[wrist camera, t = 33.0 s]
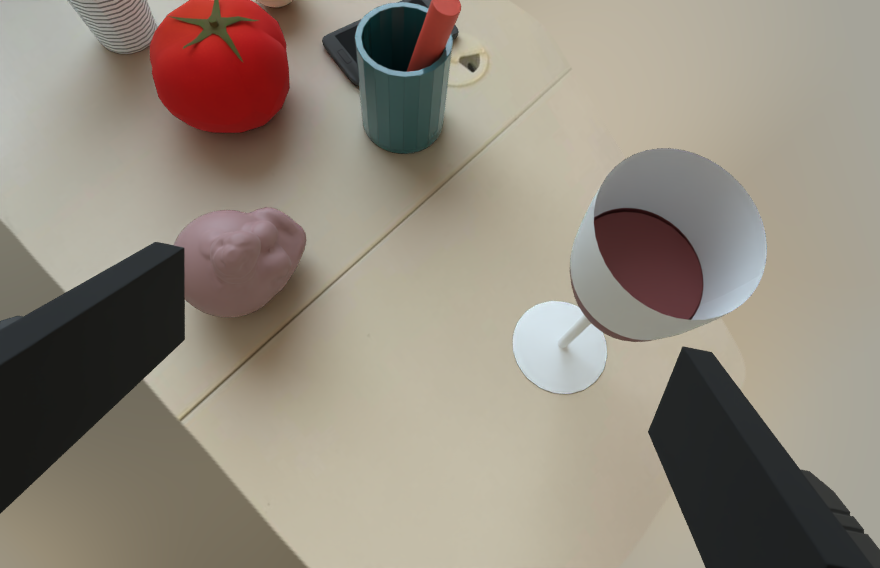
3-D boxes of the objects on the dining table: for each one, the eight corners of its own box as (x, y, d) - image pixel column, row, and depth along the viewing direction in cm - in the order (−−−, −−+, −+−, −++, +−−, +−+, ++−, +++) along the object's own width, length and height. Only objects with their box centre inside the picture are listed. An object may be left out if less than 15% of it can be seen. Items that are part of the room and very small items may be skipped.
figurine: (333, 279, 51) (314, 216, 40) (224, 350, 48) (171, 303, 37) (281, 210, 53) (250, 132, 42) (174, 273, 50) (110, 207, 39)
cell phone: (320, 43, 61) (319, 37, 60) (424, -5, 65) (424, -11, 64) (355, 88, 59) (355, 83, 58) (461, 36, 63) (461, 31, 62)
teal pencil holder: (456, 107, 59) (468, 24, 49) (421, 166, 56) (426, 91, 46) (386, 76, 60) (383, -11, 50) (348, 133, 57) (337, 52, 47)
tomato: (262, 171, 55) (233, 98, 45) (150, 129, 56) (97, 48, 46) (321, 74, 60) (306, -11, 50) (217, 37, 60) (182, -54, 51)
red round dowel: (418, 113, 58) (466, 2, 44) (408, 129, 57) (453, 21, 43) (398, 100, 58) (440, -14, 44) (388, 116, 57) (427, 4, 43)
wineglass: (501, 389, 48) (584, 298, 27) (518, 285, 52) (602, 132, 31) (604, 411, 48) (768, 338, 27) (614, 305, 52) (764, 167, 31)
